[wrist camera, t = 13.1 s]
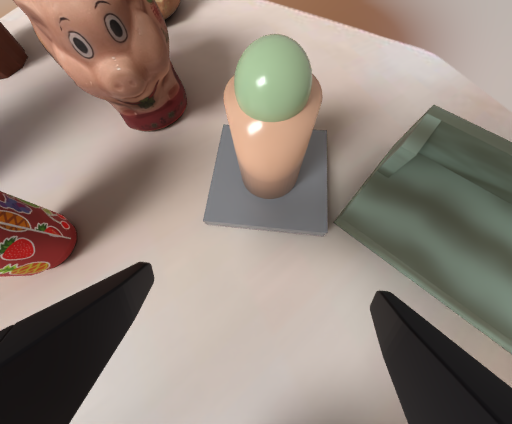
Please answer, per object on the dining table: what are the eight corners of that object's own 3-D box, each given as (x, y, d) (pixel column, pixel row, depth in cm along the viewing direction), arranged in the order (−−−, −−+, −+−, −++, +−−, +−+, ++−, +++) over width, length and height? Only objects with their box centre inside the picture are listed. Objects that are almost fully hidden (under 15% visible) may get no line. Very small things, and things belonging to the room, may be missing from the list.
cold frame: (547, 380, 16) (702, 435, 10) (333, 222, 21) (358, 201, 16) (590, 256, 19) (730, 247, 13) (393, 145, 24) (433, 104, 18)
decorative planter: (93, 79, 31) (-35, -70, 18) (162, 49, 32) (92, -107, 19) (137, 168, 25) (-6, 42, 12) (219, 124, 26) (174, -27, 13)
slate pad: (323, 236, 21) (327, 233, 19) (207, 224, 22) (203, 220, 20) (323, 138, 25) (326, 130, 24) (225, 132, 26) (223, 124, 25)
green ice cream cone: (299, 198, 21) (348, 84, 8) (240, 199, 21) (206, 91, 9) (295, 148, 23) (330, 0, 11) (242, 150, 23) (215, 8, 11)
